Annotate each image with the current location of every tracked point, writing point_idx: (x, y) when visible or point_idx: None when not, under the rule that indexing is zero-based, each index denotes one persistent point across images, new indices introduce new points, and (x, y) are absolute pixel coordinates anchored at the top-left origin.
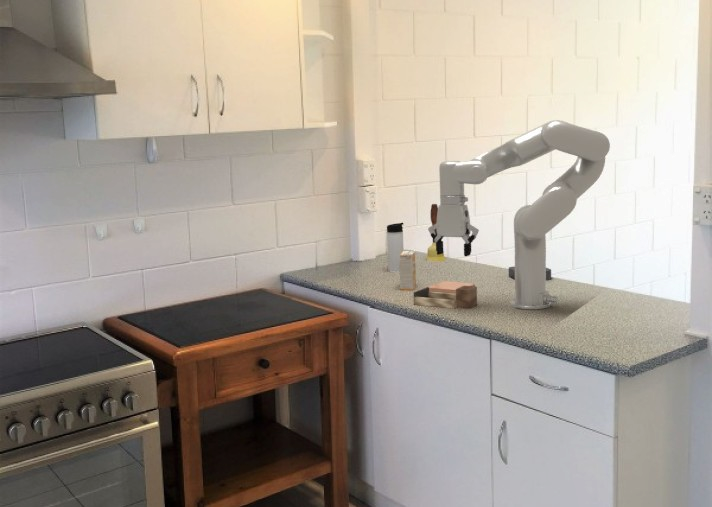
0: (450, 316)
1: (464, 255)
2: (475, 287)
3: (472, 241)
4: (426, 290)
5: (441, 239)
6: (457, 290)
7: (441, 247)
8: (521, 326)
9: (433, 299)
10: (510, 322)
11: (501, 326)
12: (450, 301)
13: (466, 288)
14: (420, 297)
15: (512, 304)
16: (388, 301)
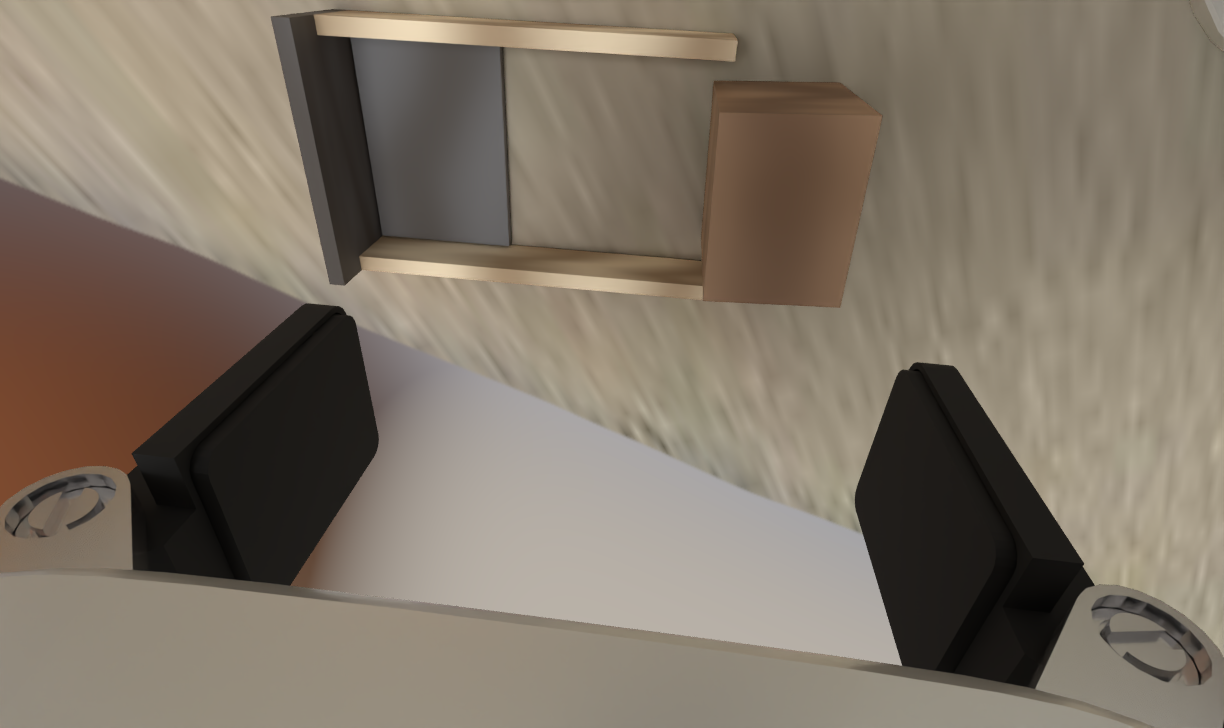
0: (747, 449)
1: (864, 512)
2: (873, 152)
3: (1189, 627)
4: (313, 75)
5: (138, 526)
6: (719, 297)
7: (306, 443)
8: (1209, 533)
9: (520, 281)
10: (1144, 480)
11: (1085, 553)
12: (669, 294)
13: (794, 246)
14: (404, 271)
15: (1214, 29)
16: (156, 213)
